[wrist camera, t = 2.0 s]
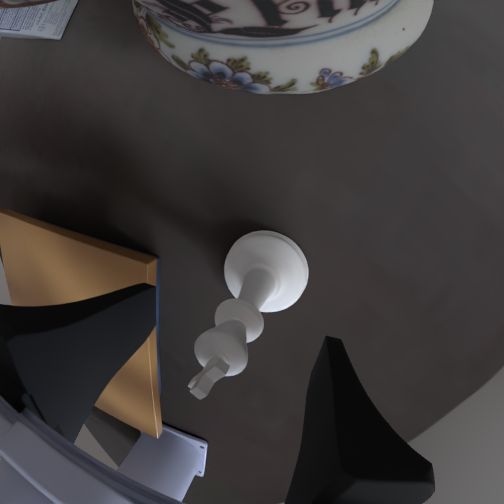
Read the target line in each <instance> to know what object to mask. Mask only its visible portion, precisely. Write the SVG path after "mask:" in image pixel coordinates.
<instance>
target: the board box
mask: <svg viewBox="0 0 504 504" xmlns="http://www.w3.org/2000/svg"><path fill="white" fill-rule="evenodd" d="M0 246H1V252H2V258H3V264H4V269H5V275H6V279H7V284H8V288H9V292H10V297H11V301H12V305H13V306H47V305H58V304H65V303H71V302H76V301H80V300H85V299H88V298H92V297H96V296H100V295H103V294H106V293H110V292H113V291H116V290H119V289H123V288H126V287H129V286H132V285H136V284H140V283H148V284H150V285H153V286H156V326H155V328H154V329H153V331H152V332H151V334H150V335H149V337H148V338H147V340H146V341H145V342H144V344H143V345H142V346H141V347H140V348H139V349H138V350H137V351H136V352H135V354H134V355H133V356H132V357H131V358H130V359H129V360H128V361H127V362H126V363H125V364H124V366H123V367H122V368H121V369H120V370H119V371H118V372H117V373H116V374H115V376H114V377H113V378H112V379H111V381H110V382H109V383H108V385H107V386H106V388H105V389H104V391H103V392H102V394H101V395H100V397H99V398H98V400H97V401H96V403H95V405H94V406H96V407H98V408H99V409H101V410H103V411H104V412H106V413H108V414H110V415H111V416H113V417H115V418H117V419H119V420H121V421H123V422H124V423H126V424H128V425H130V426H132V427H134V428H136V429H138V430H140V431H142V432H144V433H146V434H149V435H151V436H153V437H155V438H157V439H158V438H159V437H160V435H161V433H162V432H163V431H162V421H161V410H160V398H159V397H160V396H161V395H162V393H161V375H160V348H159V280H160V257H157V256H154V255H150V254H147V253H144V252H140V251H137V250H134V249H130V248H127V247H124V246H121V245H117V244H114V243H111V242H108V241H105V240H102V239H98V238H95V237H92V236H89V235H86V234H83V233H80V232H76V231H73V230H70V229H67V228H64V227H61V226H58V225H55V224H52V223H49V222H46V221H43V220H40V219H34V218H31V217H28V216H25V215H22V214H20V213H17V212H14V211H11V210H8V209H6V208H3V209H0Z"/></svg>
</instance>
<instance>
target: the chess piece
mask: <svg viewBox="0 0 504 504" xmlns="http://www.w3.org/2000/svg"><path fill="white" fill-rule="evenodd" d="M224 276H225V280H226V283H227V286H228V288H229V290H230V291H231V293H232V294H233V295H234V297H235V298H236V299H229V300H226V301H224V302H222V303H221V304H220V305H219V306H218V308H217V310H216V313H215V324H216V327H214V328H212V329H209V330H208V331H206V332H204V333H203V334H201V335H200V336H199V337H198V338H197V340H196V342H195V345H194V351H195V355H196V357H197V359H198V361H199V362H200V364H201V365H202V366H203V367H204V369H203V370H202V371H201V372H200V373H199V374H197V375H196V376H195V377H193V378H192V380H191V381H190V383H189V385H188V387H189V388H191V390H190V392H191V393H192V394H193V395H194V396H196V397H197V398H198V399H199V400H201V399H202V398H204V397H206V396H207V395H208V394H209V392H210V390H211V388H212V386H213V384H214V382H216V381H217V380H219V379H220V378H222V377H223V376H233V375H236V374H238V373H240V372H241V371H243V370H244V368H245V367H246V364H247V361H248V349H247V343H248V342H251V341H253V340H254V339H256V338H257V337H258V336H259V335H260V334H261V332H262V330H263V327H264V321H263V317H262V315H261V313H260V311H261V312H276V311H280V310H283V309H285V308H287V307H289V306H291V305H292V304H294V303H295V302H296V301H297V300H298V299H299V297H300V296H301V294H302V292H303V291H304V289H305V287H306V284H307V281H308V265H307V261H306V258H305V256H304V254H303V252H302V251H301V249H300V248H299V247H298V246H297V244H296V243H294V242H293V241H292V240H291V239H289V238H288V237H286V236H284V235H282V234H280V233H277V232H273V231H255V232H251V233H248V234H246V235H244V236H242V237H241V238H240V239H238V240H237V241H236V242H235V243H234V244H233V246H232V247H231V249H230V251H229V253H228V255H227V257H226V260H225V264H224Z"/></svg>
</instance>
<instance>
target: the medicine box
mask: <svg viewBox="0 0 504 504" xmlns="http://www.w3.org/2000/svg"><path fill="white" fill-rule="evenodd" d="M77 2H78V0H58V1H54V2H51V3H47V4H42V5H37V6H31V7H23V8H10V9H0V37H9V38H20V39H56V40H60V39H61V37H62V35H63V33H64V30H65V28H66V26H67V24H68V21H69V19H70V17H71V15H72V13H73V10H74V8H75V6H76V4H77Z"/></svg>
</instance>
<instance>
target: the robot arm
mask: <svg viewBox="0 0 504 504" xmlns="http://www.w3.org/2000/svg"><path fill="white" fill-rule="evenodd" d="M155 326H156V286H153V285H150V284H148V283H140V284H136V285H132V286H129V287H126V288H123V289H119V290H116V291H113V292H110V293H106V294H103V295H100V296H96V297H92V298H88V299H85V300H80V301H76V302H71V303H65V304H58V305H47V306H11V305H2V304H0V458H1V460H0V504H186V503H183V502H182V500H183V498H184V496H185V494H186V492H187V490H188V488H189V486H190V484H191V482H192V479H193V477H194V475H198V476H203V475H204V470H205V462H206V454H207V446H208V444H207V442H206V441H204V440H201V439H199V438H196V437H193V436H191V435H188V434H186V433H183V432H181V431H178V430H176V429H173V428H171V427H169V426H166V425H164V424H162V431H163V432H162V433H161V435H160V437H159V438H158V439H157V438H155V437H153V436H151V435H149V434H146V433H144V432H142V431H141V436H140V437H139V439H138V440H137V442H136V443H135V445H134V446H133V448H132V449H131V451H130V452H129V453H128V455H127V456H126V458H125V459H124V461H123V462H122V464H121V465H120V466H119V468H118V469H117V471H116V470H114V469H112V468H110V467H108V466H107V465H105V464H103V463H102V462H100V461H98V460H97V459H95V458H94V457H92V456H91V455H89V454H87V453H86V452H84V451H83V450H81V449H80V448H78V447H77V446H75V445H74V442H75V440H76V438H77V436H78V433H79V432H80V430H81V428H82V425H83V424H84V422H85V420H86V418H87V416H88V415H89V413H90V411H91V409H92V408H93V406H94V405H95V403H96V401H97V400H98V398H99V397H100V395H101V394H102V392H103V391H104V389H105V388H106V386H107V385H108V383H109V382H110V381H111V379H112V378H113V377H114V376H115V374H116V373H117V372H118V371H119V370H120V369H121V368H122V367H123V366H124V364H125V363H126V362H127V361H128V360H129V359H130V358H131V357H132V356H133V355H134V354H135V352H136V351H137V350H138V349H139V348H140V347H141V346H142V345H143V344H144V342H145V341H146V340H147V338H148V337H149V335H150V334H151V332H152V331H153V329H154V328H155ZM434 491H435V481H434V473H433V467H432V463H430V462H429V461H428V460H426V459H425V458H424V457H422V456H421V455H420V454H419V453H417V452H416V451H415V450H414V449H412V448H411V447H410V446H409V445H408V444H407V443H406V442H405V441H404V440H403V439H402V438H401V437H400V436H399V435H398V434H397V433H396V432H395V431H394V430H393V429H392V427H391V426H390V425H389V424H388V423H387V422H386V420H385V419H384V418H383V417H382V415H381V414H380V413H379V411H378V410H377V409H376V407H375V406H374V404H373V403H372V401H371V400H370V398H369V397H368V395H367V393H366V392H365V390H364V388H363V386H362V384H361V383H360V381H359V379H358V377H357V375H356V372H355V370H354V368H353V366H352V364H351V362H350V359H349V357H348V355H347V352H346V350H345V347H344V345H343V342H342V341H341V339H338V338H333V337H329V336H326V337H325V339H324V342H323V345H322V347H321V350H320V352H319V355H318V357H317V360H316V363H315V365H314V367H313V370H312V372H311V376H310V381H309V386H308V390H307V396H306V406H305V416H304V425H303V434H302V442H301V447H300V452H299V456H298V460H297V464H296V467H295V471H294V475H293V478H292V482H291V485H290V488H289V491H288V495H287V498H286V501H285V504H422V503H424V502H425V501H426V500H428V499H429V498H430V497H431V496H432V494H433V493H434Z"/></svg>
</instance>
